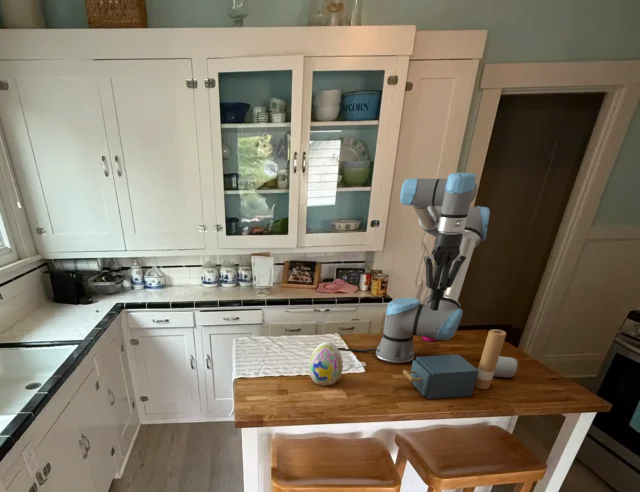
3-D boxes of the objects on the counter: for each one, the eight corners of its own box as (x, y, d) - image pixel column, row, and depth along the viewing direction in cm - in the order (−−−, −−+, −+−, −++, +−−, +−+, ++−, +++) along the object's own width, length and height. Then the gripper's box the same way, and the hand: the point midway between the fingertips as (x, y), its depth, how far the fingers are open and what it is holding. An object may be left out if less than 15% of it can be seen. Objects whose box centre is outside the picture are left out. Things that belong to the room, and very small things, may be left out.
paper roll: (470, 385, 152) (486, 331, 141) (477, 381, 155) (493, 327, 144) (485, 390, 149) (502, 335, 138) (492, 385, 152) (509, 331, 140)
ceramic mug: (514, 381, 154) (521, 361, 150) (490, 379, 155) (496, 360, 151) (506, 369, 163) (512, 350, 159) (483, 367, 164) (488, 349, 160)
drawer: (410, 397, 144) (415, 376, 140) (397, 380, 155) (401, 360, 150) (464, 393, 146) (470, 372, 141) (447, 377, 156) (452, 357, 152)
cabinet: (427, 399, 145) (433, 373, 139) (411, 381, 156) (416, 356, 151) (471, 396, 146) (479, 370, 140) (452, 378, 157) (458, 354, 152)
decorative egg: (304, 385, 155) (306, 347, 147) (312, 371, 164) (314, 334, 156) (337, 390, 151) (341, 351, 143) (344, 376, 161) (347, 338, 152)
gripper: (434, 235, 125) (419, 313, 138) (477, 233, 126) (458, 311, 139) (424, 231, 132) (410, 306, 145) (464, 229, 132) (447, 304, 145)
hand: (433, 309), depth 142 cm, fingers closed
